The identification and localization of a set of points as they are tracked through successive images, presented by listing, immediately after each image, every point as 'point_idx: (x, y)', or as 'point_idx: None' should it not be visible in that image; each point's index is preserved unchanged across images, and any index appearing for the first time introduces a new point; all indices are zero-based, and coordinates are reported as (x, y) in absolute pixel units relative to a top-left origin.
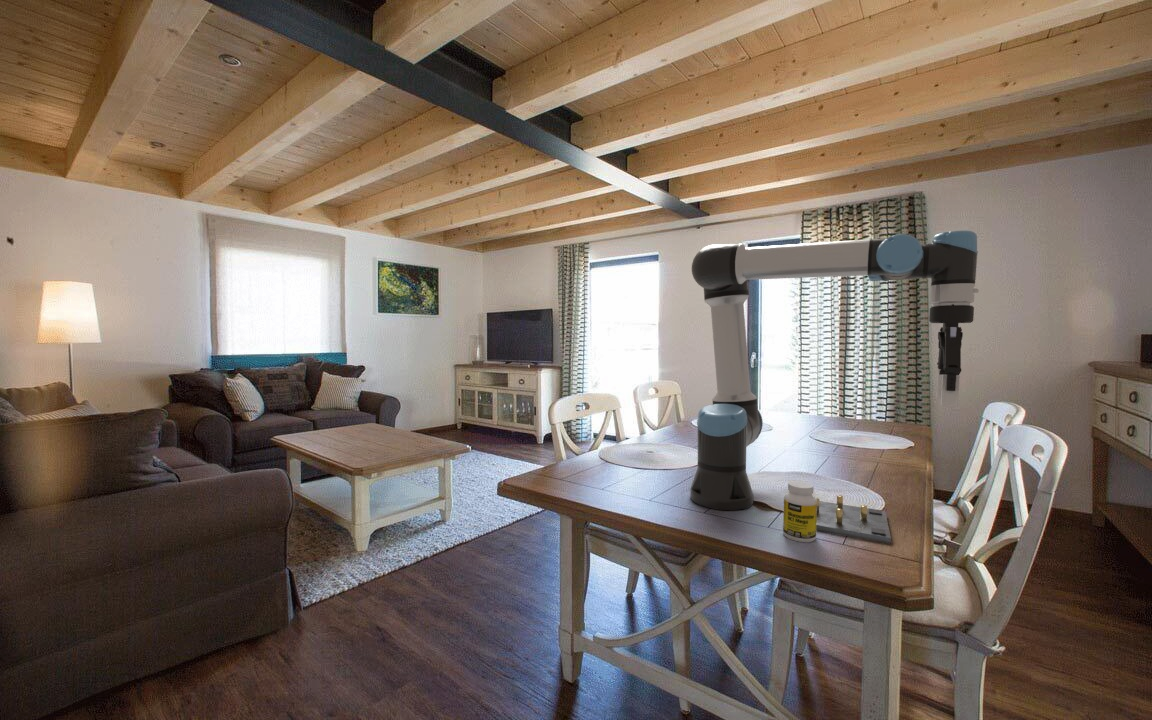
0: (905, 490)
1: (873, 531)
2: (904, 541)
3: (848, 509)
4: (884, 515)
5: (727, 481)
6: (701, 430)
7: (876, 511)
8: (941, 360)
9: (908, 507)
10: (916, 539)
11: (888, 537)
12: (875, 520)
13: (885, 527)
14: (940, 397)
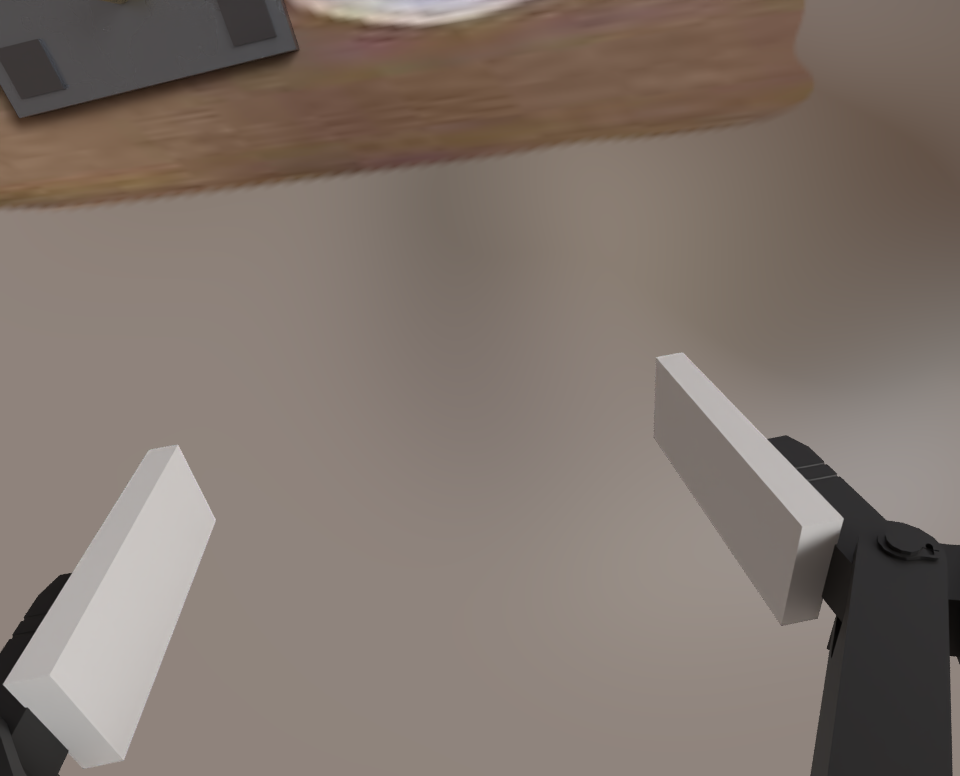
0: (687, 67)
1: (2, 55)
2: (100, 150)
3: None
4: (239, 56)
5: None
6: None
7: (245, 21)
8: (839, 677)
9: (469, 109)
10: (154, 178)
11: (16, 110)
12: (149, 36)
13: (107, 83)
14: (655, 383)
